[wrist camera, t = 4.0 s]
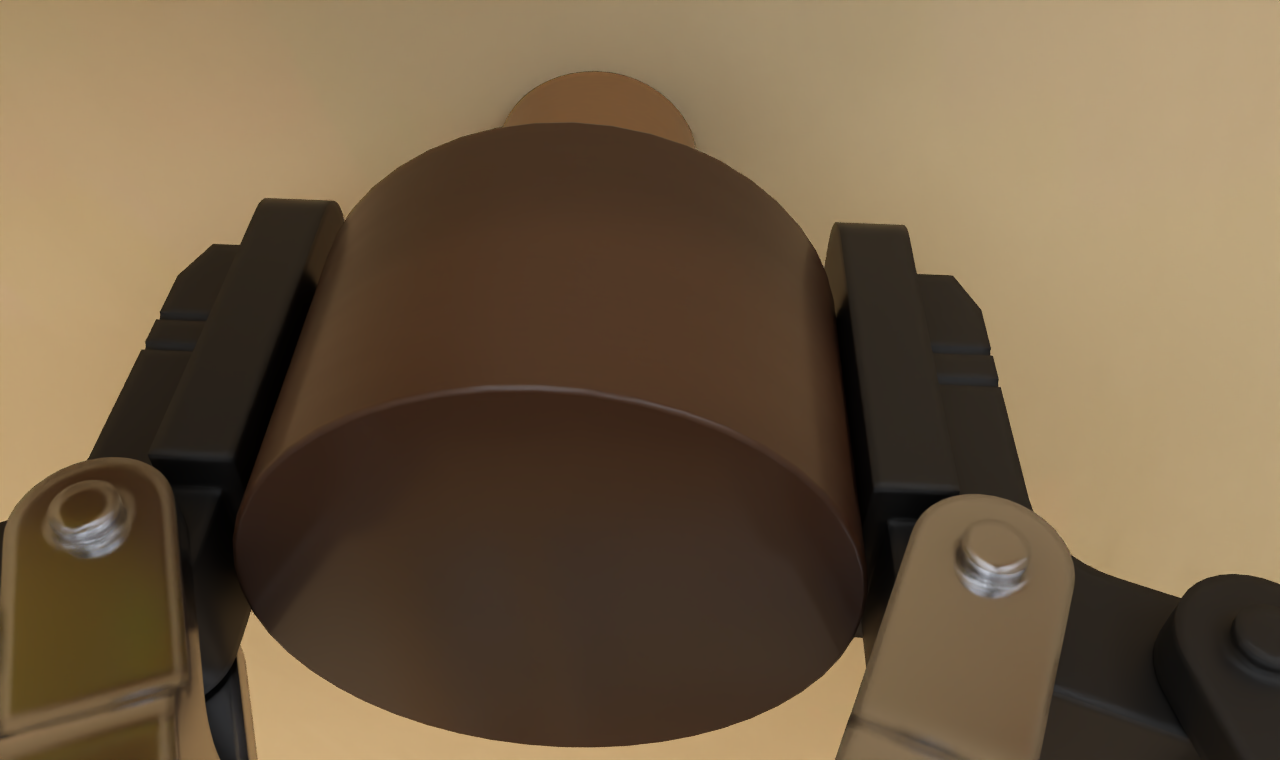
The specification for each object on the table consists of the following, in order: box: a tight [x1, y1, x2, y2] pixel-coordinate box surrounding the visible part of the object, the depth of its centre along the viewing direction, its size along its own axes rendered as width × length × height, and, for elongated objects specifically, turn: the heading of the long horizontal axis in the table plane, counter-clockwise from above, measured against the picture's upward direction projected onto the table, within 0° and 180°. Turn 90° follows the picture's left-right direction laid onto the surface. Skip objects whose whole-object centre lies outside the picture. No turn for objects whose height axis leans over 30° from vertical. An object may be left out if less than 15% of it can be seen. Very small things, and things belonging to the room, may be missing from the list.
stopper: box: [232, 71, 868, 747], centre depth 12 cm, size 5×5×6 cm
